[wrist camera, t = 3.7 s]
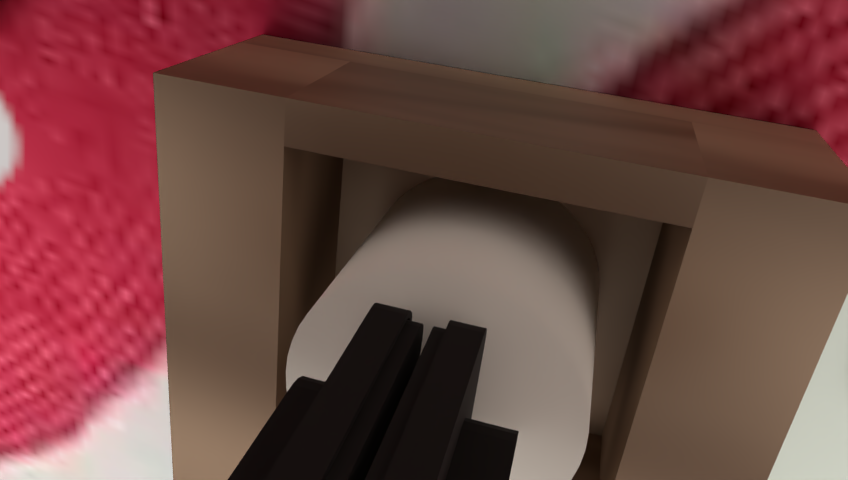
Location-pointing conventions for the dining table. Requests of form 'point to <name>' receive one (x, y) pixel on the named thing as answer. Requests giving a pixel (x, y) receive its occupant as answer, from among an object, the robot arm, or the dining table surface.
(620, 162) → the wooden compartment tray
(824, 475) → the card
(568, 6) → the dining table surface
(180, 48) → the dining table surface
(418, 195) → the button
